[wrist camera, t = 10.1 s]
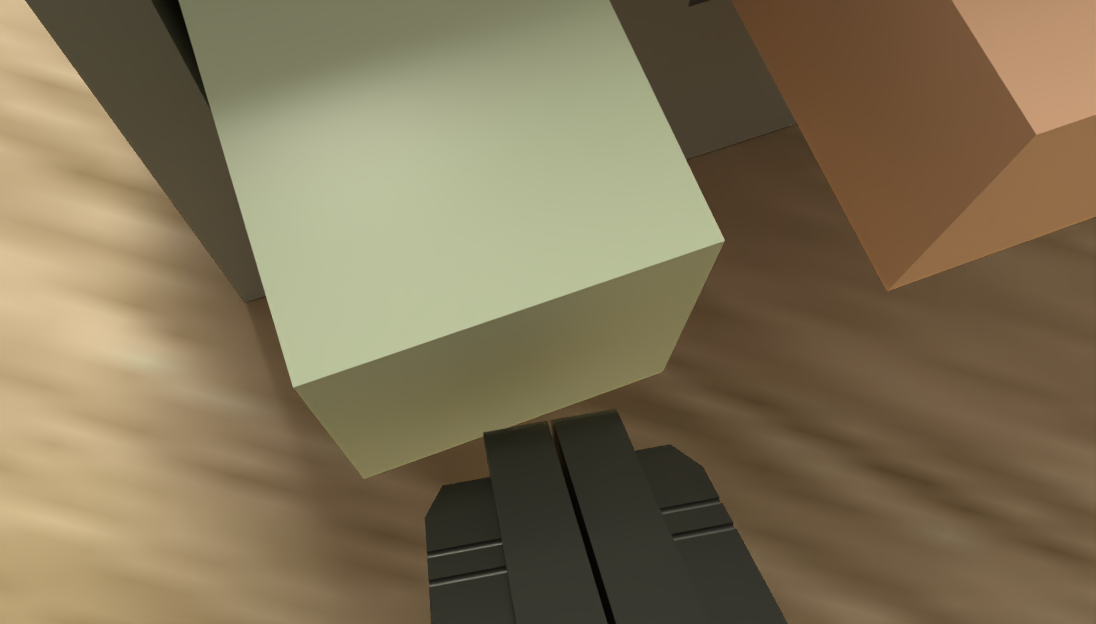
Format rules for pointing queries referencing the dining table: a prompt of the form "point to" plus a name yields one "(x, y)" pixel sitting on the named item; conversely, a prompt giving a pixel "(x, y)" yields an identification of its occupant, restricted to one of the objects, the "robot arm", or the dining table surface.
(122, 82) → the keypad console
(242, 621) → the dining table surface
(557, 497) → the robot arm
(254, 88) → the sage key
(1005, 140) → the terracotta key
